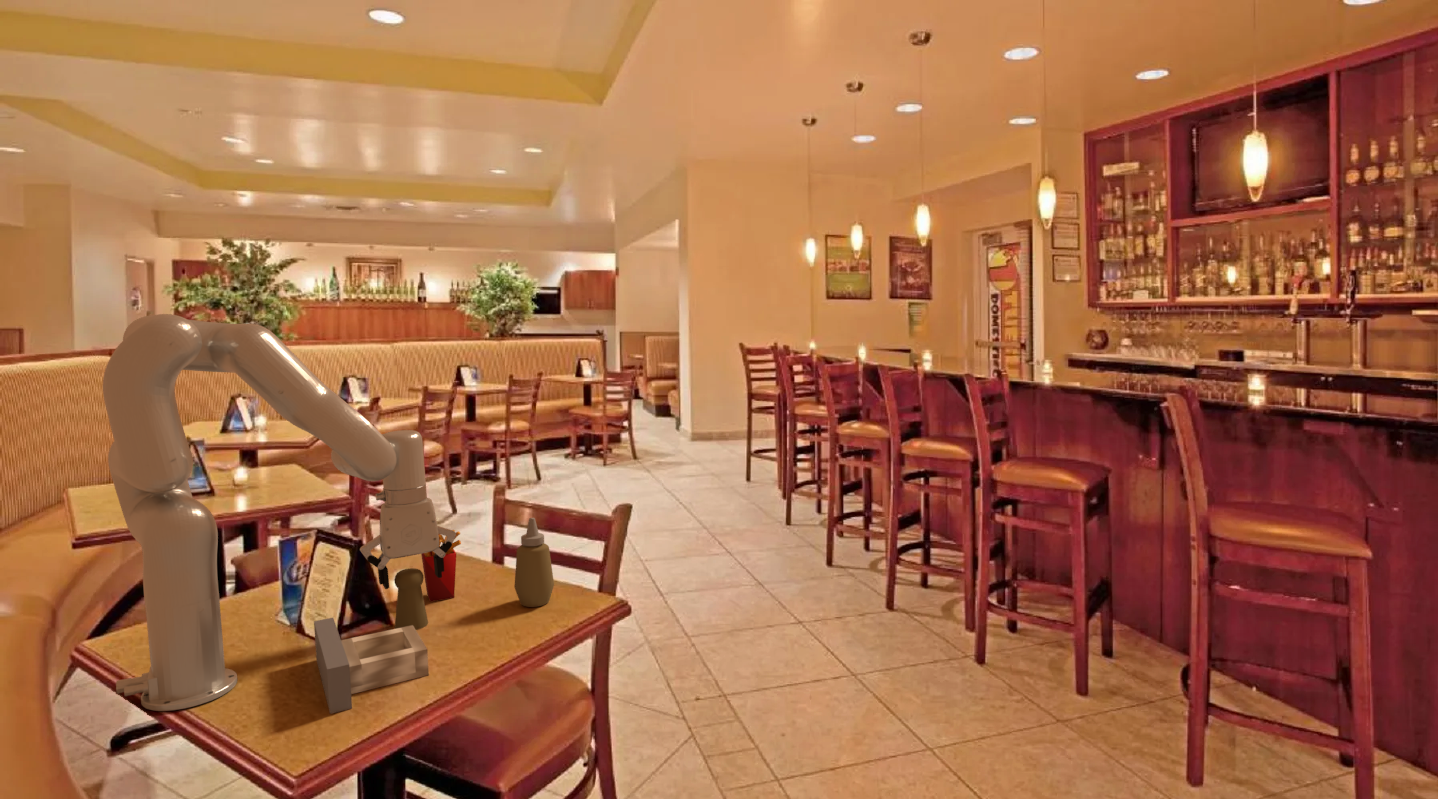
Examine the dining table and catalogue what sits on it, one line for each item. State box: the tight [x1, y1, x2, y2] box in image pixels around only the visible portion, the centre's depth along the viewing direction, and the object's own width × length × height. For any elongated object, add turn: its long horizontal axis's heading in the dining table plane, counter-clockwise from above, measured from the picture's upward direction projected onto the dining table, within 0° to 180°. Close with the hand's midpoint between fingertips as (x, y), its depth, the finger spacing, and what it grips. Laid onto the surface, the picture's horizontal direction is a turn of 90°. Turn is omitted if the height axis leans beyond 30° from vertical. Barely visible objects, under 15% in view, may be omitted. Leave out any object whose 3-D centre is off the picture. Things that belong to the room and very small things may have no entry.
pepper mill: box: [393, 567, 429, 631], centre depth 147 cm, size 6×6×11 cm
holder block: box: [341, 625, 430, 695], centre depth 128 cm, size 12×12×4 cm
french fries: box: [420, 529, 462, 603], centre depth 162 cm, size 9×8×15 cm
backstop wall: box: [313, 617, 353, 715], centre depth 124 cm, size 3×22×7 cm, turn 32°
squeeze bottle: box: [514, 517, 555, 608], centre depth 158 cm, size 8×8×18 cm
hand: (412, 581), depth 147 cm, fingers open, 9 cm apart
